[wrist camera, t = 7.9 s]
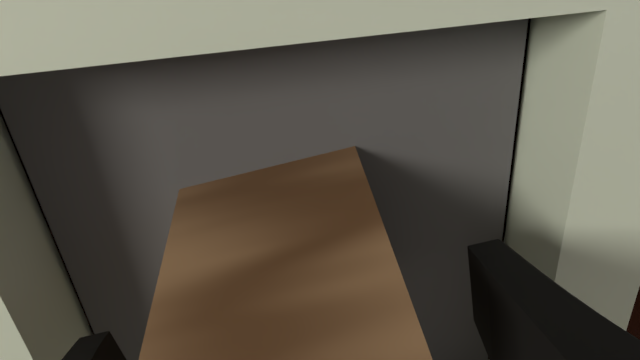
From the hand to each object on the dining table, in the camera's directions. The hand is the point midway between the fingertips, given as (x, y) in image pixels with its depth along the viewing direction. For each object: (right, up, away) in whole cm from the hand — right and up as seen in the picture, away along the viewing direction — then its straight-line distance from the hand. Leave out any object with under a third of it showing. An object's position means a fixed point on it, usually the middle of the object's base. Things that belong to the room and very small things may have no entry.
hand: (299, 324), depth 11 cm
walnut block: (0, +1, +2) cm, 3 cm away
